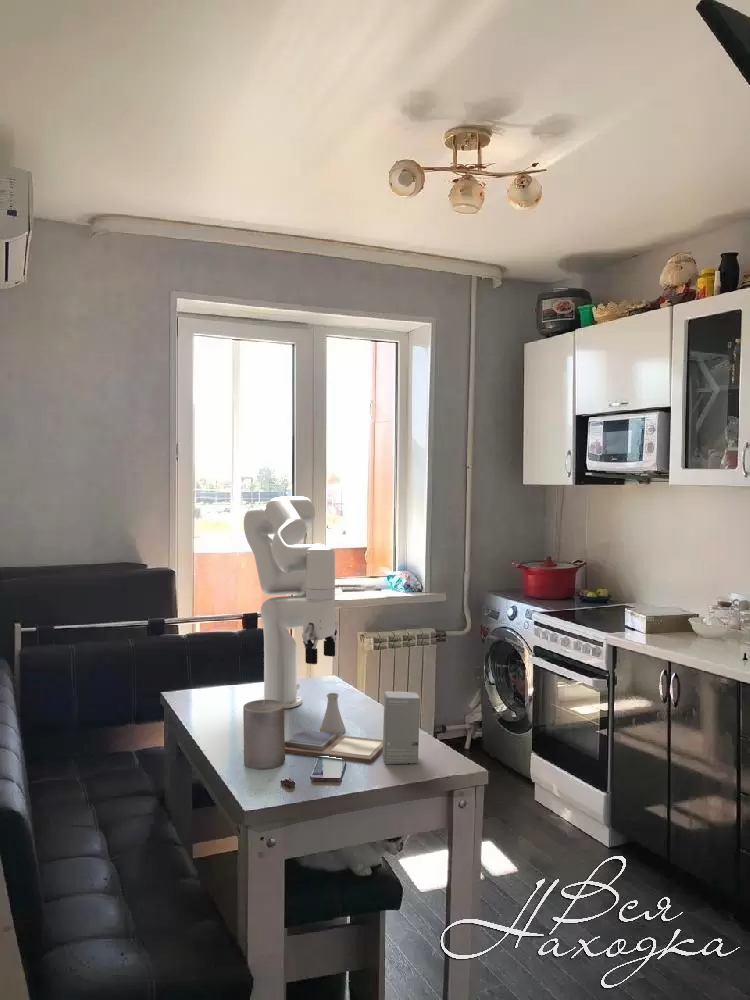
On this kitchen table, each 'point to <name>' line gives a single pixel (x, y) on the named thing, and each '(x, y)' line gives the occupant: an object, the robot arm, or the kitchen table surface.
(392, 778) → the kitchen table surface
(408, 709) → the skincare box
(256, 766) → the pillar candle
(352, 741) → the board
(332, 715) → the flask
